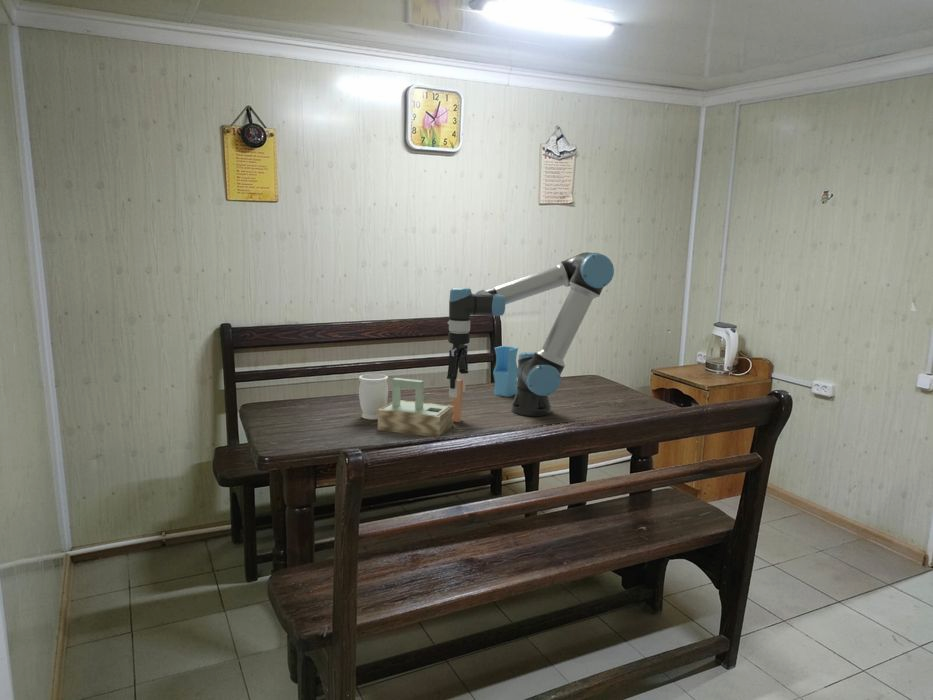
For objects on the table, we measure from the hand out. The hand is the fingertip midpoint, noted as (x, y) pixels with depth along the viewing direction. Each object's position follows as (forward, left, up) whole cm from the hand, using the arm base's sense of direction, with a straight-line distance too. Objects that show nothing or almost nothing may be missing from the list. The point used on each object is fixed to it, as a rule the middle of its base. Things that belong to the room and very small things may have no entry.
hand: (457, 393), depth 225 cm
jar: (+30, +7, -10) cm, 32 cm away
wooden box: (+10, +13, -10) cm, 19 cm away
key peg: (0, 0, -10) cm, 10 cm away
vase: (-6, -47, -10) cm, 49 cm away
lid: (+10, +13, -4) cm, 17 cm away
